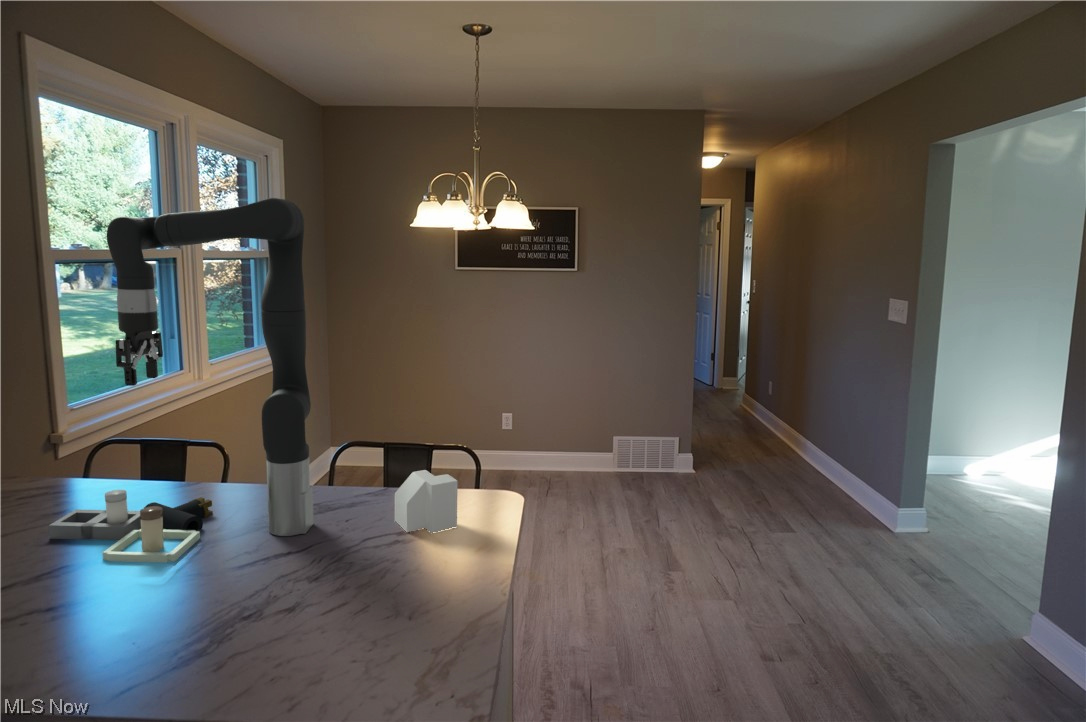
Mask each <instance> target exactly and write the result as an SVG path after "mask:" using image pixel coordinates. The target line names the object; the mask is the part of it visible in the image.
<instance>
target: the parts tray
mask: <svg viewBox="0 0 1086 722" xmlns="http://www.w3.org/2000/svg"><path fill="white" fill-rule="evenodd" d="M138 538H140V539H142V537H141V529H140V530H133V531H131V532H130V533H129V534H127V535H126V536H125V537H123V538H122V539H120V540H117V541H116V542H115V543H113V544H112V545H110V547H108V548H106V549H105V550H104V551H102V560H106V561H107V562H124V563H126V562H129V563H130V562H131V563H132V562H133V563H134V562H135V563H163V564H164V563H166V564H167V563H168V562H175V561H177V560H178V559H179V558H180V557H181V556H182V555H183V556H182V557H181V559H179V560H178V561H177V562H176V563H175V564H174V566H176V565H177V564H178V563H180V561H181V560H182V559H184V558H185V557H186V556H187V555H189V553H191V552H192V549H190V548H191V547H192V546H194V545H195V543H196V545H195V546H194V547H193V549H195V548H196V547H197V546H198V545H199V544H200V543H201V541H199V540H200V539H201V531H199V530H198V531H196V530H191V529H187V530H167V529H164V528H163V539H166V540H167V539H172V540H173V539H177V540H183V541H181V542H180V543H179V544H178V545H177V546H176V547H175V548H173V549H172V550H171V551H170V552H143V551H122V550H124V549H125V548H127V547H128V546H129V545H130V544H133V542H135V541H136V540H137V539H138ZM198 541H199V542H198ZM197 542H198V543H197ZM189 549H190V551H188V550H189ZM187 551H188V552H187ZM185 552H187V553H186V554H185ZM184 554H185V555H184Z"/></svg>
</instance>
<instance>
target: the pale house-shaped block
mask: <svg viewBox="0 0 1086 722" xmlns="http://www.w3.org/2000/svg"><path fill="white" fill-rule="evenodd" d="M458 483H459V482H458V480H457V479H456V478H454V477H453V476H452V475H449V474H448V473H447V474H439V475H434V474H432V473H430V471H428V470H426V469H423V470H417V471H412V472H411V474H410V475H409V476H407V478H406V479H405V480H404V482H403V483H402V484H401V485H400V486H399V488H398V489H396V491H395V492H394V522H395V521H396V522H397V523H398V524H399V525H400V526H401V527H402V528H403V529H404V530H405V531H406V532H409V531H413V530H418V529H422V528H426V529H427V530H428V531H430V533H433V532H438V531H441V530H445V529H449V528H452V527H456V526H458ZM401 527H400V528H401ZM402 528H401V529H402ZM403 529H402V530H403ZM426 529H425V530H426ZM404 530H403V531H404ZM427 530H426V531H427ZM405 531H404V532H405ZM428 531H427V532H428ZM406 532H405V533H406ZM430 533H429V534H430Z"/></svg>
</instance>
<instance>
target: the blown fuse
mask: <svg viewBox="0 0 1086 722" xmlns="http://www.w3.org/2000/svg"><path fill="white" fill-rule="evenodd" d="M139 511H140V519H141V537H142V538H141V552H156V553H159V552H161V550H163V549H164V547H165V545H164V544H165V543H164V542H165V541H164V538H163V529H164V528H163V518H162V516H163V512H162V507H159V506H152V507H146V508H144V507H143V508H142V509H140V510H139Z"/></svg>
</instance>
